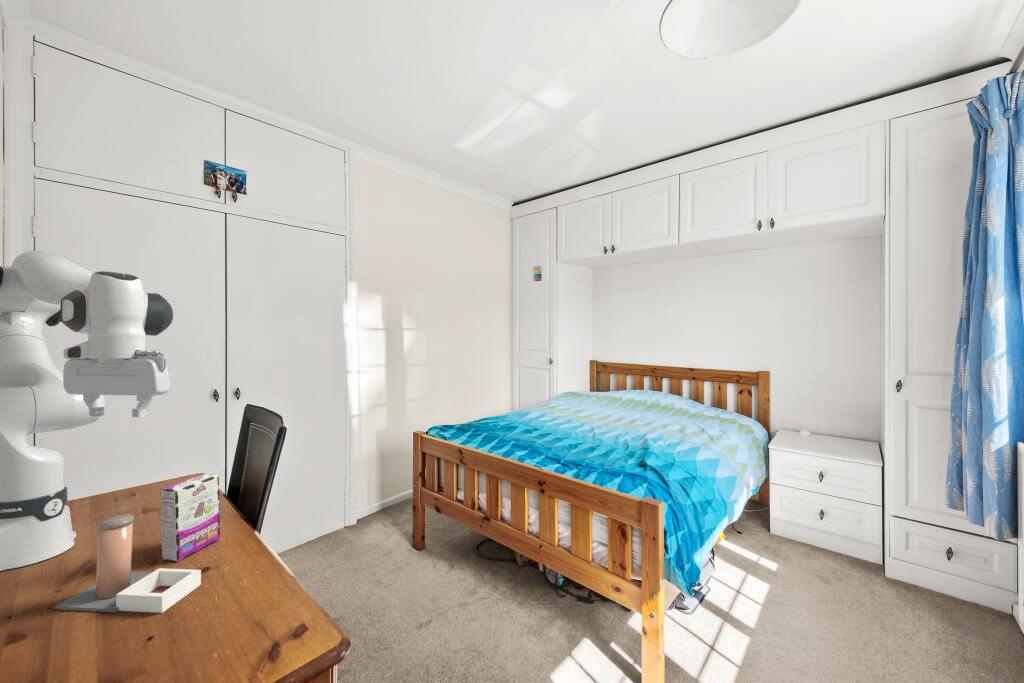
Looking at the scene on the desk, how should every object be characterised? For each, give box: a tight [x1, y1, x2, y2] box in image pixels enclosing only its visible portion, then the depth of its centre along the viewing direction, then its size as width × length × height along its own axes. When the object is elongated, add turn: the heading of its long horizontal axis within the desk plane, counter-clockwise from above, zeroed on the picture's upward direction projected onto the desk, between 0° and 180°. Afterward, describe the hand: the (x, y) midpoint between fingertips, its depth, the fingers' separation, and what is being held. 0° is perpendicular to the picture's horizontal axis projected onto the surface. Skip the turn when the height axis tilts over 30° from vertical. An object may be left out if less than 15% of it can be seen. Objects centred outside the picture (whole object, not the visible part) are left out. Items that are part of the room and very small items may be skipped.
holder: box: [116, 567, 202, 614], centre depth 83 cm, size 9×9×3 cm
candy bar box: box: [160, 473, 221, 562], centre depth 102 cm, size 11×5×16 cm, turn 168°
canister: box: [95, 513, 135, 599], centre depth 84 cm, size 5×5×14 cm
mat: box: [54, 570, 152, 613], centre depth 85 cm, size 12×12×1 cm
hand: (117, 416), depth 89 cm, fingers open, 8 cm apart
